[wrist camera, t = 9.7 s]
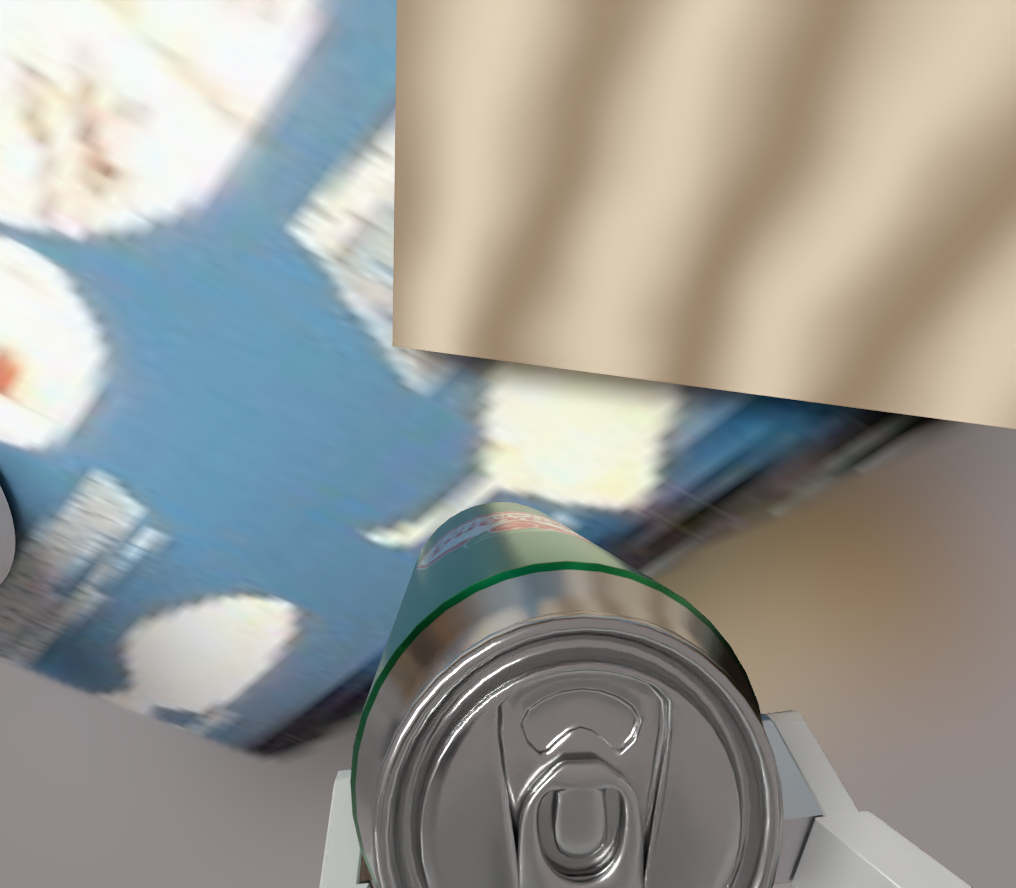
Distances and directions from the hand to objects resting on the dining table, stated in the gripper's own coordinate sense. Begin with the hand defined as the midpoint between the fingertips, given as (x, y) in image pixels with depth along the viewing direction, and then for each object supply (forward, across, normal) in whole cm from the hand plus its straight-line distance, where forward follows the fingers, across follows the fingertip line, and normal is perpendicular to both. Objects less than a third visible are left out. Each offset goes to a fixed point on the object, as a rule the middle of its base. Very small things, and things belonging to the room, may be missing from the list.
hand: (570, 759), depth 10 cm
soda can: (+8, +1, +3) cm, 9 cm away
